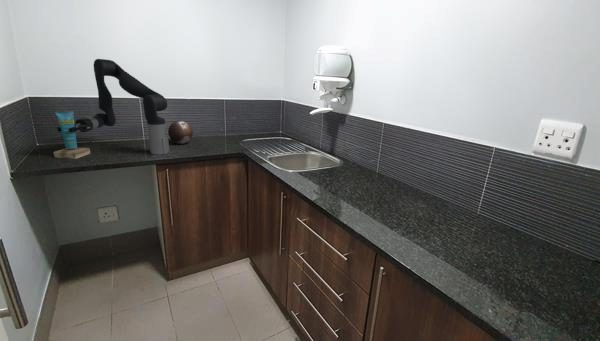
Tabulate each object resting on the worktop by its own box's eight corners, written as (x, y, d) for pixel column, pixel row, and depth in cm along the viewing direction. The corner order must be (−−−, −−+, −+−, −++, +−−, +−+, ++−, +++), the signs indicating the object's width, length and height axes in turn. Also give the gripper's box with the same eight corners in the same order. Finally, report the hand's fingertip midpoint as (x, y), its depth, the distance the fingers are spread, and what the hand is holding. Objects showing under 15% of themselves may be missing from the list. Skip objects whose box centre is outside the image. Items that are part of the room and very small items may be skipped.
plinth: (90, 153, 161) (89, 147, 160) (75, 158, 150) (74, 152, 149) (70, 152, 161) (69, 146, 160) (54, 157, 150) (53, 151, 149)
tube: (63, 149, 150) (55, 112, 144) (62, 147, 154) (54, 111, 147) (81, 147, 155) (73, 111, 149) (79, 145, 159) (72, 110, 152)
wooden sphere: (180, 147, 184) (179, 123, 179) (164, 143, 189) (161, 121, 185) (198, 143, 196) (196, 121, 192) (182, 139, 202) (180, 118, 198)
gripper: (73, 117, 163) (48, 122, 147) (98, 118, 163) (76, 123, 147) (75, 130, 166) (51, 136, 150) (100, 131, 166) (79, 138, 150)
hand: (63, 130), depth 149 cm, fingers closed on tube, 5 cm apart
